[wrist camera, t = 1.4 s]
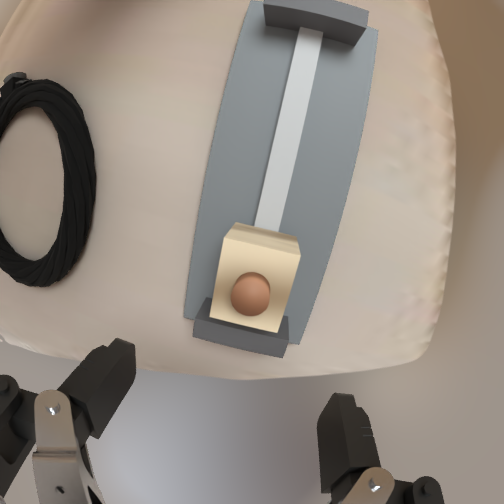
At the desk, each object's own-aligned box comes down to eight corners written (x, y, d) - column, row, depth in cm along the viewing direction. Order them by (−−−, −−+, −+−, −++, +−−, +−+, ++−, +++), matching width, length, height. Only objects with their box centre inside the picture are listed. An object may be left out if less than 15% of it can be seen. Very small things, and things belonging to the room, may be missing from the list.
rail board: (252, 7, 19) (245, -23, 13) (373, 36, 18) (392, 12, 13) (187, 310, 29) (170, 339, 23) (298, 336, 28) (301, 370, 23)
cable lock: (-7, 294, 29) (-34, 118, 20) (8, 285, 32) (-18, 117, 24) (109, 286, 25) (77, 20, 16) (127, 273, 29) (95, 30, 20)
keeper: (235, 222, 22) (218, 244, 16) (296, 236, 22) (302, 264, 16) (222, 288, 24) (204, 328, 18) (278, 301, 24) (276, 345, 18)
